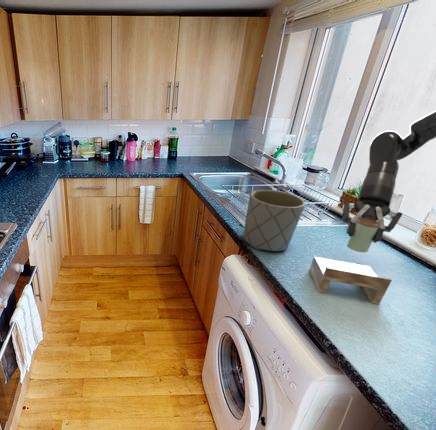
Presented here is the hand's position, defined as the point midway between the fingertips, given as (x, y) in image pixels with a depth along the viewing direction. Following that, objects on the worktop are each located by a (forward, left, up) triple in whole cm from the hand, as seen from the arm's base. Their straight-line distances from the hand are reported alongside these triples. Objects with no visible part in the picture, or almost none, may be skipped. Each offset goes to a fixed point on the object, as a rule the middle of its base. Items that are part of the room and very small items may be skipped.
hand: (362, 238), depth 85 cm
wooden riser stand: (-1, -1, -19) cm, 19 cm away
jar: (-1, -2, -4) cm, 5 cm away
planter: (+20, -24, -19) cm, 36 cm away
